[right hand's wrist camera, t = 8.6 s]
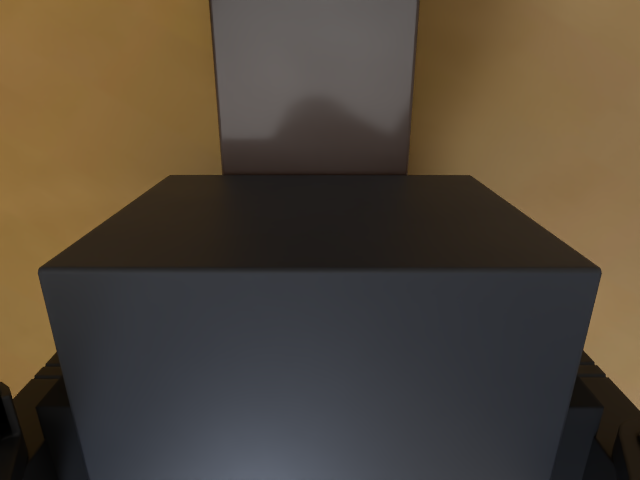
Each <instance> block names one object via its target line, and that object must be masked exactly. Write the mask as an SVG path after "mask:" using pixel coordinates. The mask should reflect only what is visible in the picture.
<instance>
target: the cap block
mask: <svg viewBox="0 0 640 480" xmlns="http://www.w3.org/2000/svg"><path fill="white" fill-rule="evenodd" d="M601 274H602V273H601V269H600V268H599V267H598V266H597V265H595V264H594V263H592V262H591V261H590V260H588V259H587V258H585V257H584V256H583V255H581V254H580V253H578V252H577V251H576V250H574V249H573V248H571V247H570V246H569V245H567V244H566V243H564V242H563V241H562V240H560V239H559V238H557V237H556V236H555V235H553V234H552V233H550V232H549V231H548V230H546V229H545V228H543V227H542V226H540V225H539V224H538V223H536V222H535V221H533V220H532V219H531V218H529V217H528V216H526V215H525V214H524V213H522V212H521V211H519V210H518V209H517V208H515V207H514V206H512V205H511V204H510V203H508V202H507V201H505V200H504V199H503V198H501V197H500V196H498V195H497V194H496V193H494V192H493V191H491V190H490V189H489V188H487V187H486V186H484V185H483V184H482V183H480V182H479V181H477V180H476V179H475V178H473V177H472V176H470V175H170V176H168V177H166V178H165V179H163V180H162V181H161V182H159V183H158V184H156V185H155V186H154V187H152V188H151V189H149V190H148V191H147V192H145V193H144V194H142V195H141V196H140V197H138V198H137V199H135V200H134V201H133V202H131V203H130V204H128V205H127V206H126V207H124V208H123V209H121V210H120V211H119V212H117V213H116V214H114V215H113V216H112V217H110V218H109V219H107V220H106V221H104V222H103V223H102V224H100V225H99V226H97V227H96V228H95V229H93V230H92V231H90V232H89V233H88V234H86V235H85V236H83V237H82V238H81V239H79V240H78V241H76V242H75V243H74V244H72V245H71V246H69V247H68V248H67V249H65V250H64V251H62V252H61V253H60V254H58V255H57V256H55V257H54V258H53V259H51V260H50V261H48V262H47V263H45V264H44V265H43V266H41V267H40V268H39V270H38V276H39V280H40V284H41V288H42V292H43V296H44V300H45V304H46V308H47V313H48V317H49V321H50V325H51V329H52V333H53V337H54V341H55V346H56V350H57V354H58V358H59V362H60V366H61V370H62V374H63V378H64V383H65V387H66V391H67V395H68V399H69V403H70V407H71V411H72V416H73V420H74V424H75V428H76V432H77V436H78V440H79V444H80V449H81V453H82V457H83V461H84V465H85V469H86V473H87V477H88V480H551V479H552V475H553V471H554V467H555V463H556V459H557V455H558V450H559V446H560V442H561V438H562V434H563V430H564V426H565V422H566V418H567V414H568V409H569V405H570V401H571V397H572V393H573V389H574V385H575V381H576V377H577V372H578V368H579V364H580V360H581V356H582V352H583V348H584V344H585V340H586V336H587V331H588V327H589V323H590V319H591V315H592V311H593V307H594V303H595V299H596V295H597V290H598V286H599V282H600V278H601Z"/></svg>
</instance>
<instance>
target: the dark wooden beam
mask: <svg viewBox="0 0 640 480" xmlns="http://www.w3.org/2000/svg"><path fill="white" fill-rule="evenodd" d="M419 4H420V0H209V8H210V21H211V34H212V47H213V60H214V73H215V85H216V98H217V111H218V124H219V137H220V150H221V163H222V175H407V174H408V160H409V146H410V132H411V117H412V103H413V89H414V75H415V61H416V47H417V32H418V18H419Z"/></svg>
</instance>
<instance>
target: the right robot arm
mask: <svg viewBox="0 0 640 480" xmlns="http://www.w3.org/2000/svg"><path fill="white" fill-rule="evenodd" d="M0 480H88V477H87V473H86V469H85V465H84V461H83V457H82V453H81V449H80V444H79V440H78V436H77V432H76V428H75V424H74V420H73V416H72V411H71V407H70V403H69V399H68V395H67V391H66V387H65V383H64V378H63V374H62V370H61V366H60V362H59V358H58V354H57V352H56V353H55V354H54V356H53V357H52V358H51V359H50V360H49V361H48V362H47V363H46V366H45V367H42V368H41V370H40V371H39V372H38V373H37V374H36V375H35V377H34V379H31V380H30V381H29V382H28V384H27V385H26V386H25V387H24V388H23V389H22V390H21V391H20V392H19V393H18V394H17V395H16V397H15V398H14V399H12V395H11V392H10V389H9V387H8V386H7V385H5V384H4V383H2V382H0ZM551 480H640V411H639V410H638V409H637V407H636V406H635V405H634V404H633V403H632V402H631V401H630V400H629V399H628V398H627V397H626V396H625V395H624V394H623V392H622V391H621V390H620V389H619V388H618V387H617V386H616V385H615V384H614V383H613V382H612V381H611V380H610V379H609V377H606V374H605V373H604V372H603V371H602V370H601V369H600V368H599V367H598V366H597V365H595V364H594V361H593V360H592V359H591V358H590V357H589V356H588V355H587V354H586V353H585V352H584V351H583V352H582V356H581V360H580V364H579V368H578V372H577V377H576V381H575V385H574V389H573V393H572V397H571V401H570V405H569V409H568V414H567V418H566V422H565V426H564V430H563V434H562V438H561V442H560V446H559V450H558V455H557V459H556V463H555V467H554V471H553V475H552V479H551Z"/></svg>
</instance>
